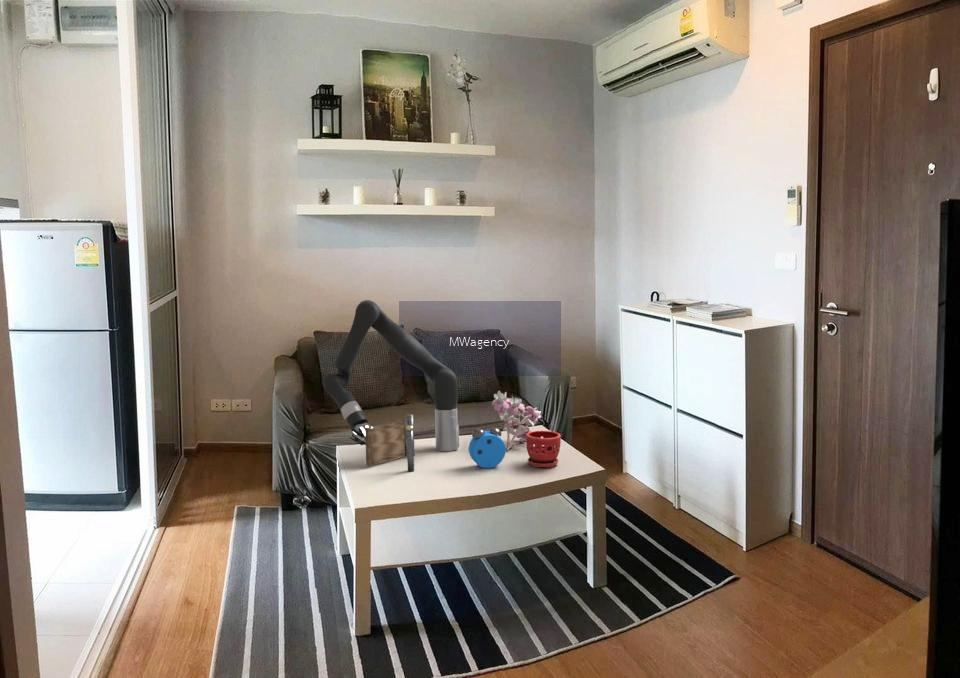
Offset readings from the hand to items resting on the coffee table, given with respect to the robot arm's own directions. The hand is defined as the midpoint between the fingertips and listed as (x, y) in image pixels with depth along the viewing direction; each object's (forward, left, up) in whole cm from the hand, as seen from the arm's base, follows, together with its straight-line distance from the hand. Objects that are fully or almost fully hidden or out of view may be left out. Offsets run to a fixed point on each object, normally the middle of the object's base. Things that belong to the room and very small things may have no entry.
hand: (374, 451), depth 274 cm
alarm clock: (-44, -2, -6) cm, 44 cm away
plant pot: (-65, -7, -6) cm, 65 cm away
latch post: (-16, +6, -5) cm, 18 cm away
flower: (-52, -34, -6) cm, 62 cm away
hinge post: (-11, -12, -5) cm, 17 cm away
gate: (-4, -3, -5) cm, 7 cm away
